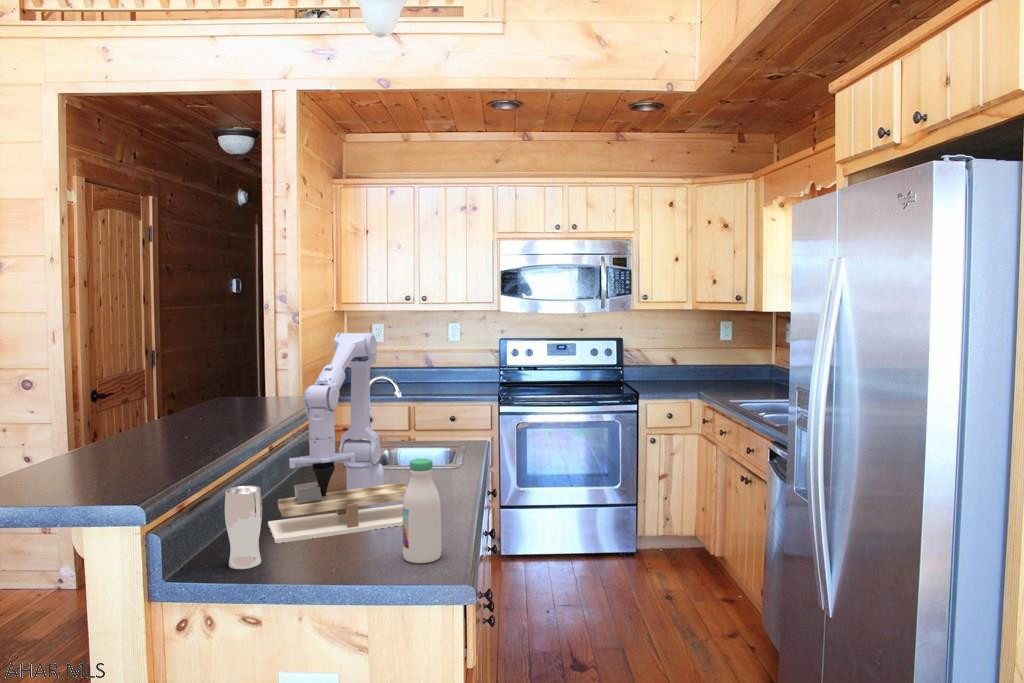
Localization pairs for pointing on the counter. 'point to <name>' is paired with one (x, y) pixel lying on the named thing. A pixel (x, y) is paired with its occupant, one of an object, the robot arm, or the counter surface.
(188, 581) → the counter surface
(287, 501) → the balance beam
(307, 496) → the block
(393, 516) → the beam stand
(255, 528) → the beer glass
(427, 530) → the milk bottle
